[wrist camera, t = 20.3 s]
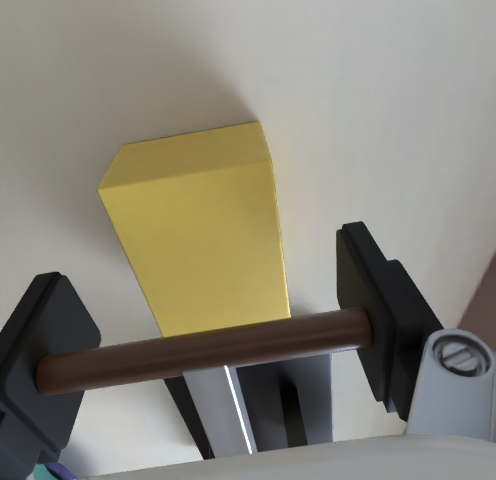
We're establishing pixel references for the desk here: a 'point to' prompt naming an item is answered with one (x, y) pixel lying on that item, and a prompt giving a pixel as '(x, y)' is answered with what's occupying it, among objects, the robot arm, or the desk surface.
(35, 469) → the cutlery set
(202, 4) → the desk surface
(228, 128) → the butter
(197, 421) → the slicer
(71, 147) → the desk surface
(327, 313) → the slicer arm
